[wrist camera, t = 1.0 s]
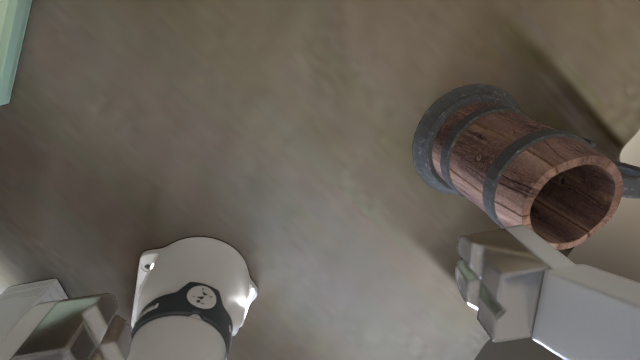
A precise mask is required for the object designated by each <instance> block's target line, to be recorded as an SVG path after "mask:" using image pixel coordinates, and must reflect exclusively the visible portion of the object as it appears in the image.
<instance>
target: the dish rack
mask: <svg viewBox="0 0 640 360" xmlns="http://www.w3.org/2000/svg"><path fill="white" fill-rule="evenodd" d="M31 3H32V0H0V105H4V104H8V103H9V101H10V97H11V92H12V88H13V83H14V79H15V74H16V70H17V65H18V61H19V56H20V52H21V47H22V43H23V39H24V34H25V30H26V25H27V21H28V16H29V12H30V7H31Z"/></svg>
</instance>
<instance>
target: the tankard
mask: <svg viewBox="0 0 640 360" xmlns="http://www.w3.org/2000/svg"><path fill="white" fill-rule="evenodd" d="M594 147H595V142H594V141H592V140H590V139H586V138H582V137H578V136H576V135H574V134H571V133H569V132H566V131H562V130H558V129H553V128H551V127H549V126H546V125H544V124H542V123H539V122H537V121H535V120H532V119H530V118H529V117H528V116H527V115H525V114H523V113H522V112H520V109H519V107H518V105H517V103H516V102H515V100H514V99H513V98H512V97H511V96H510V95H509V94H508V93H507V92H505V91H503V90H502V89H500V88H498V87H495V86H491V85H486V84H473V85H466V86H463V87H460V88H458V89H455V90H453V91H451V92H449V93H448V94H446V95H444V96H443V97H441V98H440V99H439V100H438V101H437V102H435V103H434V104H433V105H432V106H431V108H430V109H429V110H428V111H427V112H426V113H425V115H424V117H423V118H422V120H421V122H420V123H419V126H418V128H417V131H416V133H415V137H414V142H413V159H414V164H415V167H416V169H417V171H418V174H419V175H420V177H421V178H422V179H423V180H424V182H425V183H427V184H428V185H429V186H430V187H432V188H434V189H436V190H438V191H440V192H444V193H448V194H459V195H461V196H462V197H465V198H467V199H469V200H471V201H472V202H473V203H475V204H476V205H477V206H478V207H480V208H481V209H482V210H483V211H485V212H486V213H487V214H488V215H489V217H490V218H491V219H492V220H493V221H494V222H495V223H497V224H498V225H499V226H501V227H502V228H504V227H510V226H515V225H520V224H521V225H524V226H527V227H529V228H530V229H531V230H532V231H534V232H535V233H536V234H537V235H539V236H540V237H541V238H542V239H544V240H545V241H546V242H548V243H549V244H550V245H551V246H553V247H554V248H555V249H556V250H562V249H568V248H571V247H574V246H577V245H579V244H580V243H582V242H583V241H585V240H586V239H587V238H589V237H590V236H591V235H592V234H593V233H595V232H596V231H597V230H599V229H600V228H601V227H602V226H603V225H605V224H606V223H607V221H609V220H610V219H611V217H612V216H613V214H614V213H615V211H616V209H617V207H618V205H619V203H620V200H621V197H626V198H640V167H637V166H633V165H629V164H626V163H621V162H617V161H613V160H609V159H608V158H606V157H605V156H603V155H602V154H600V153H599V152H597V151H596V150H594Z"/></svg>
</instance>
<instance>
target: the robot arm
mask: <svg viewBox="0 0 640 360" xmlns="http://www.w3.org/2000/svg"><path fill="white" fill-rule="evenodd" d="M457 252H458V253H459V254H460V255H461V257H462V258H461V259H460V260H459V262H458V263H457V264H456V274H455V277H456V281H457V286H458V289H459V291H460V293H461V296H462V297H463V299H464V300H465V302H466V303H467V304H468V305H469V306H471V307H473V308H475V309H477V310H478V315H477V320H478V321H479V322H480V324H481V325H482V327H483V328H484V330H485V331H486V332H487V334H488V335H489V337H490V338H491V340H492V341H493V342H501V341H507V340H515V339H521V338H527V337H532V339H533V340H534V341H536V342H537V343H539V344H540V345H542V346H544V347H545V348H547V349H548V350H550V351H551V352H553V353H554V354H556V355H558V356H559V357H561V358H562V359H564V360H640V283H638V282H636V281H633V280H630V279H627V278H623V277H621V276H618V275H615V274H611V273H609V272H606V271H603V270H599V269H597V268H594V267H591V266H588V265H585V264H579V265H575V264H574V263H573V262H571V261H570V260H569V259H568V258H567V257H565V256H564V255H563V254H561V253H560V252H559V251H558V250H556V249H555V248H554V247H553V246H551V245H550V244H549V243H548V242H546V241H545V240H544V239H542V238H541V237H540V236H539V235H537V234H536V233H535V232H534V231H532V230H531V229H530V228H529V227H527V226H524V225H521V224H520V225H515V226H510V227H504V228H500V229H498V230H492V231H486V232H480V233H474V234H468V235H462V236H459V239H458V241H457ZM146 264H148V265H150V266H147V265H146ZM257 294H258V288H257V286H256V285H255V284H254V282H253V281H252V280H251V279H250V276H249V272H248V268H247V265H246V263H245V261H244V259H243V257H242V256H241V255H240V254H239V253H238V252H237V251H236V250H235V249H234V248H233V247H231V246H230V245H228V244H226V243H224V242H222V241H219V240H216V239H213V238H207V237H191V238H185V239H182V240H179V241H176V242H174V243H172V244H170V245H169V246H167V247H164V248H161V249H153V250H148V251H145V252H144V253H143V254H142V255H141V258H140V262H139V269H138V276H137V283H136V291H135V298H134V305H133V312H132V319H131V326H132V330H131V331H130V327H129V325H128V323H127V321H126V320H125V319H123V318H121V317H120V316H118V315H116V314H117V312H118V309H119V307H120V306H119V304H118V302H117V300H116V298H115V296H114V295H112V294H109V293H104V294H97V295H90V296H83V297H76V298H69V299H63V300H56V301H50V302H43V303H39V304H37V305H35V306H33V307H31V308H30V310H29V311H28V312H27V313H26V314H25V315H24V316H23V317H22V319H21V320H20V321H19V322H18V323H17V324H16V325H15V326H14V327H13V329H12V330H11V331H10V332H9V333H8V334H7V335H6V336H5V338H4V339H3V340H2V341H1V342H0V360H226V359H227V357H228V354H229V349H230V347H231V343H232V335H236V334H237V332H238V329H239V327H241V326H242V325H243V323H244V319H245V316H246V313H247V310H248V307H249V305H250V304H251V303H252V302H253V300H254V299H255V298H256V297H257Z"/></svg>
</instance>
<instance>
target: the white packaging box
mask: <svg viewBox="0 0 640 360" xmlns="http://www.w3.org/2000/svg"><path fill="white" fill-rule="evenodd" d="M63 299H68V297H67V295H66V294H65V292H64V290H63V289H62V287H61V285H60V284H59V282H58V280H57V279H56V278H55V279H49V280H44V281H38V282H33V283H27V284H22V285H16V286H12V287H9V288H7V289H6V290H5V291H4V292H3V293H2V294H1V295H0V342H1V341H2V340H3V339H4V338H5V336H6V335H7V334H8V333H9V332H10V331H11V330H12V329H13V327H14V326H15V325H16V324H17V323H18V322H19V321H20V320H21V319H22V317H23V316H24V315H25V314H26V313H27V312H28V311H29V310H30V308H31V307H33V306H35V305H37V304H39V303H43V302H50V301H56V300H63Z"/></svg>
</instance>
